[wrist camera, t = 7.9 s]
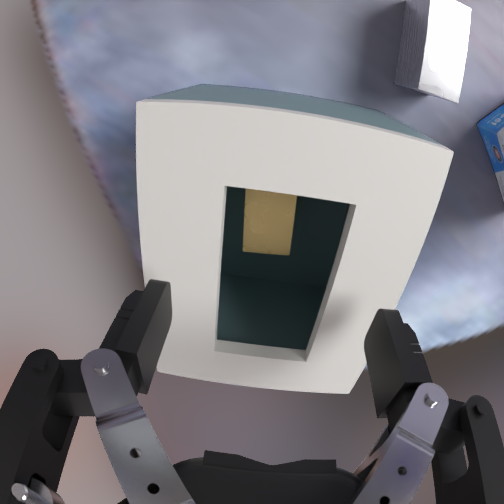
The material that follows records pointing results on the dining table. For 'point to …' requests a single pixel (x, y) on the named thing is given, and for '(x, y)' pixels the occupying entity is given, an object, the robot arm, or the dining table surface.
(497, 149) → the ink box
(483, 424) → the robot arm
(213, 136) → the box
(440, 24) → the grey rectangular block
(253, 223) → the block
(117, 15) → the dining table surface
